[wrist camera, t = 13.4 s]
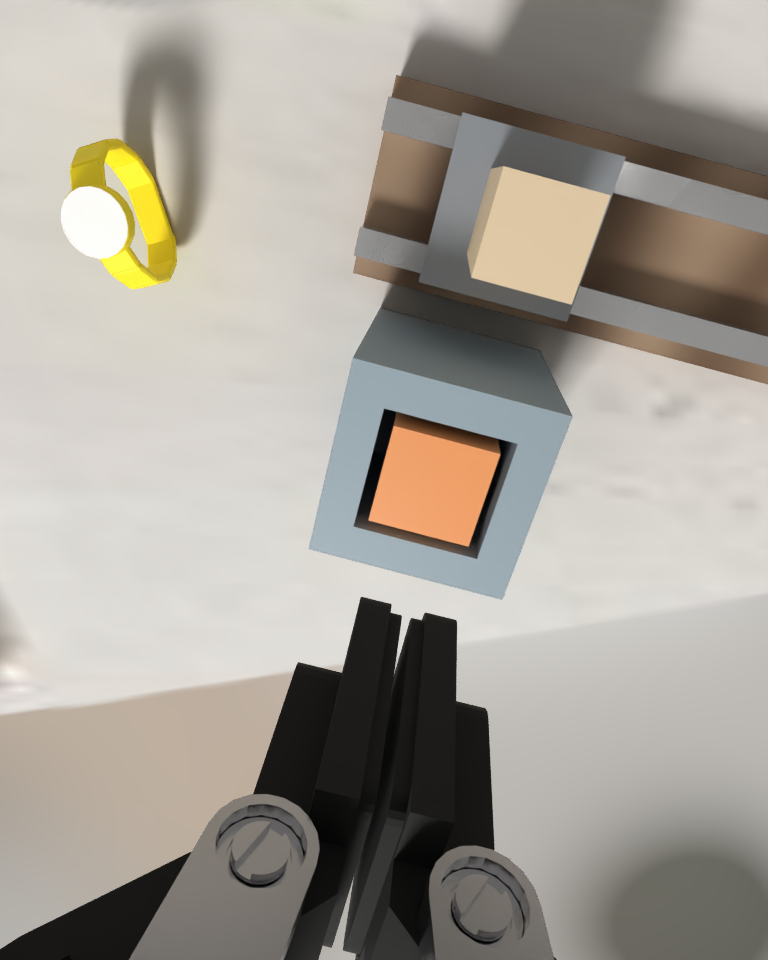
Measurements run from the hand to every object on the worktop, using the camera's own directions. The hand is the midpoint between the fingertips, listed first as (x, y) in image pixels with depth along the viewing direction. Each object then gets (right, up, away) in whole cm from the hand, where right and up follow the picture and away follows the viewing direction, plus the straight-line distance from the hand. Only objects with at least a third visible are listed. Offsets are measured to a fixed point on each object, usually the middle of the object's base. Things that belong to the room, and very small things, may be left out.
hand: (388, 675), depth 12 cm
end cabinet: (+3, +7, +23) cm, 24 cm away
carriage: (+5, +14, +17) cm, 22 cm away
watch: (-11, +16, +21) cm, 29 cm away
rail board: (+11, +14, +19) cm, 26 cm away
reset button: (+2, +4, +17) cm, 17 cm away
